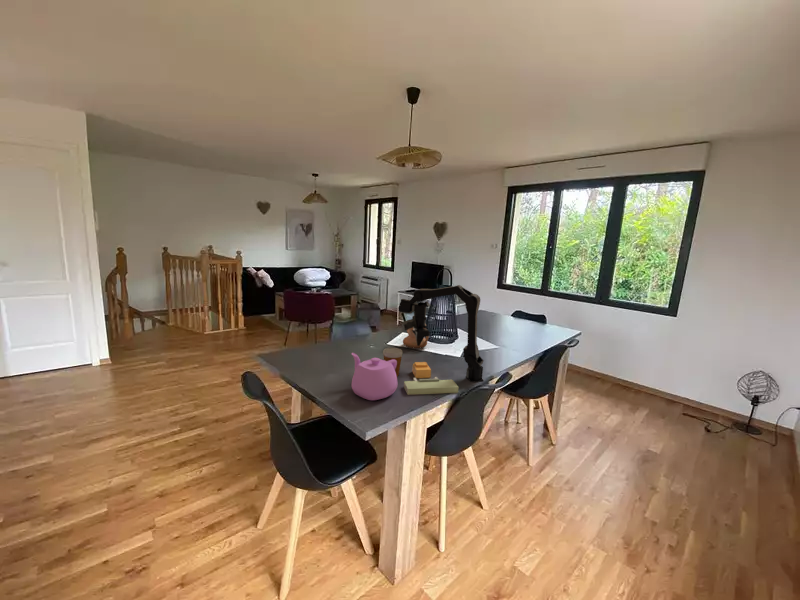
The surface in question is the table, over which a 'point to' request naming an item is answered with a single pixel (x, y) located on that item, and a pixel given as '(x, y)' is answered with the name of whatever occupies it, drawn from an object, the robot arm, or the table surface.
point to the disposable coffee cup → (393, 357)
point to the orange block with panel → (421, 370)
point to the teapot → (374, 378)
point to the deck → (430, 386)
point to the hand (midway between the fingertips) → (418, 345)
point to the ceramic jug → (414, 340)
